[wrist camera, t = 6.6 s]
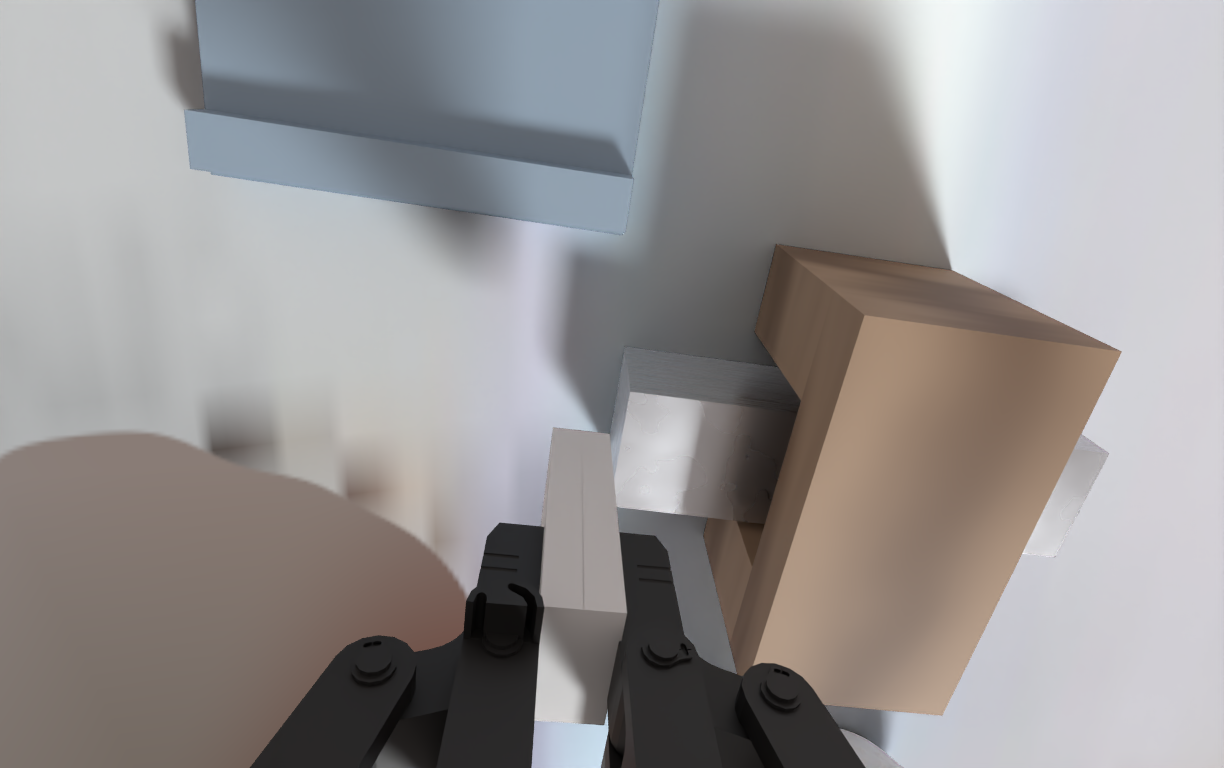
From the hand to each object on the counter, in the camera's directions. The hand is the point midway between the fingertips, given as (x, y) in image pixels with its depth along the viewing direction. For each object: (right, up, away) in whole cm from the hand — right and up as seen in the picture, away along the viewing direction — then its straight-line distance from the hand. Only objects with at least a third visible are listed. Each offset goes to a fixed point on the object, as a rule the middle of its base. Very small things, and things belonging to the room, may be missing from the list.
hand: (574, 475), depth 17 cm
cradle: (-4, +12, +1) cm, 13 cm away
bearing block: (+8, +1, +6) cm, 10 cm away
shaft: (+9, +1, +6) cm, 11 cm away
